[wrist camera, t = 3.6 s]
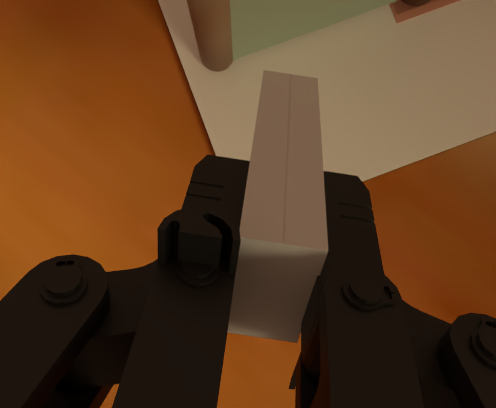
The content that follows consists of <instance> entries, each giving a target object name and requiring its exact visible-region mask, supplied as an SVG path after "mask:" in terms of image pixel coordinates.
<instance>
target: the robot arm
mask: <svg viewBox="0 0 496 408" xmlns="http://www.w3.org/2000/svg"><path fill="white" fill-rule="evenodd" d="M371 209H372V205H371V199H370V194H369V190H368V189H367V188H366V186H365V185H364V184H363V182H362V181H361V180H360V178H359V177H358V176H355V175H348V174H342V173H335V172H329V171H323V155H322V139H321V123H320V107H319V90H318V78H313V77H307V76H300V75H294V74H287V73H281V72H274V71H268V70H264V71H263V78H262V85H261V91H260V98H259V104H258V111H257V118H256V124H255V131H254V137H253V144H252V151H251V157H250V161H247V160H240V159H234V158H227V157H221V156H214V155H207V156H206V157H204V158H203V159H202V160H201V161H200V162H199V163H198V164H197V165H196V166H195V167H194V171H193V174H192V177H191V180H190V184H189V187H188V190H187V193H186V196H185V200H184V203H183V206H182V209H181V210H178V211H175V212H173V213H172V214H170V215H169V216H167V217H166V218H164V220H163V221H162V223H161V224H160V226H159V227H158V259H157V260H156V261H154V262H153V263H150V264H148V265H145V266H143V267H139V268H134V269H129V270H120V271H112V272H105V270H104V269H103V267H102V266H101V264H99V263H98V262H96V261H94V260H92V259H91V258H89V257H84V256H79V255H64V256H57V257H54V258H51V259H49V260H46V261H43V262H41V263H40V264H38V265H37V266H36V267H34V268H33V269H32V270H30V271H29V272H28V273H27V274H26V275H25V276H24V277H23V278H22V279H21V280H20V281H19V282H18V283H17V284H16V285H15V286H14V287H13V288H12V289H11V290H10V291H9V292H8V293H7V295H6V296H5V297H4V298H3V299H2V300H1V301H0V408H100V406H101V404H102V403H103V401H104V400H105V398H106V396H107V395H108V393H109V391H110V390H111V388H112V386H113V385H114V384H119V387H118V390H117V394H116V397H115V400H114V403H113V406H112V408H217V402H218V394H219V387H220V380H221V373H222V366H223V359H224V352H225V345H226V338H227V332H228V333H235V334H242V335H248V336H255V337H262V338H268V339H275V340H282V341H289V342H295V343H297V341H298V338H299V335H300V332H301V353H300V355H299V358H298V361H297V364H296V367H295V369H294V372H293V375H292V378H291V382H290V386H289V389H295V386H296V398H295V408H496V319H495V318H493V317H490V316H488V315H485V314H476V313H469V314H465V315H461V316H459V317H458V318H457V319H456V320H455V321H454V322H453V323H452V324H450V323H447V322H445V321H443V320H440V319H438V318H436V317H433V316H431V315H428V314H426V313H424V312H421V311H419V310H418V309H416V308H414V307H412V306H410V305H409V304H407V303H406V302H405V301H403V300H402V298H401V296H400V294H399V291H398V289H397V287H396V286H395V285H394V284H393V283H392V282H391V281H390V280H389V279H388V277H386V276H385V275H384V271H383V266H382V260H381V255H380V249H379V244H378V238H377V232H376V227H375V224H374V216H373V210H371Z"/></svg>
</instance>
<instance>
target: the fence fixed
mask: <svg viewBox="0 0 496 408" xmlns="http://www.w3.org/2000/svg"><path fill="white" fill-rule="evenodd" d="M401 1H402V2H404V3H405V4H407V5H410V6H422V5H424V4H426V3H428V2H429V1H430V0H401Z"/></svg>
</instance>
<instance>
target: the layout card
mask: <svg viewBox="0 0 496 408" xmlns="http://www.w3.org/2000/svg"><path fill="white" fill-rule="evenodd" d="M158 2H159V4H160V7H161V10H162V12H163V15H164V18H165V20H166V23H167V26H168V29H169V31H170V34H171V37H172V39H173V42H174V45H175V47H176V50H177V53H178V55H179V58H180V61H181V63H182V66H183V69H184V71H185V74H186V77H187V79H188V82H189V85H190V87H191V90H192V93H193V95H194V98H195V101H196V103H197V106H198V109H199V111H200V114H201V117H202V119H203V122H204V125H205V128H206V130H207V133H208V136H209V138H210V141H211V144H212V146H213V149H214V152H215V154H216V156H221V157H227V158H234V159H240V160H247V161H250V157H251V151H252V144H253V137H254V131H255V124H256V118H257V111H258V104H259V98H260V91H261V85H262V78H263V71H264V70H268V71H274V72H281V73H287V74H294V75H300V76H307V77H313V78H318V90H319V107H320V123H321V139H322V155H323V171H329V172H335V173H342V174H348V175H355V176H358V177H359V178H360V180H361V181H362V182H363V181H365V180H368V179H371V178H373V177H376V176H379V175H381V174H384V173H387V172H389V171H392V170H395V169H397V168H400V167H403V166H405V165H408V164H411V163H413V162H416V161H419V160H421V159H424V158H427V157H429V156H432V155H435V154H437V153H440V152H443V151H445V150H448V149H451V148H453V147H456V146H459V145H461V144H464V143H467V142H469V141H472V140H475V139H477V138H480V137H483V136H485V135H488V134H491V133H493V132H496V0H430V1H429V2H428V3H426V4H424V5H422V6H410V5H407V4H405V3H404V2H402V1H401V0H397V1H396V2H393V3H390V4H388V5H385V6H382V7H379V8H377V9H374V10H371V11H368V12H365V13H363V14H360V15H357V16H354V17H352V18H349V19H346V20H343V21H341V22H338V23H335V24H332V25H329V26H327V27H324V28H321V29H318V30H316V31H313V32H310V33H307V34H304V35H302V36H299V37H296V38H293V39H291V40H288V41H285V42H282V43H279V44H277V45H274V46H271V47H268V48H266V49H263V50H260V51H257V52H255V53H252V54H249V55H246V56H243V57H241V58H238V59H235V60H233V61H232V63H231V65H230V66H229V67H228V68H227V69H225V70H223V71H219V72H216V71H211V70H209V69H207V68H206V67H205V66H204V65H203V64H202V62H201V59H200V55H199V51H198V46H197V42H196V38H195V34H194V29H193V25H192V21H191V17H190V13H189V8H188V4H187V0H158Z"/></svg>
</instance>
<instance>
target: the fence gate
mask: <svg viewBox="0 0 496 408" xmlns="http://www.w3.org/2000/svg"><path fill="white" fill-rule="evenodd" d="M396 1H397V0H187V4H188V8H189V13H190V17H191V21H192V25H193V29H194V34H195V38H196V42H197V46H198V51H199V55H200V59H201V62H202V64H203V65H204V66H205V67H206V68H207V69H209V70H211V71H216V72H219V71H223V70H225V69H227V68H228V67H229V66H230V65H231V63H232V61H233V60H235V59H238V58H241V57H243V56H246V55H249V54H252V53H255V52H257V51H260V50H263V49H266V48H268V47H271V46H274V45H277V44H279V43H282V42H285V41H288V40H291V39H293V38H296V37H299V36H302V35H304V34H307V33H310V32H313V31H316V30H318V29H321V28H324V27H327V26H329V25H332V24H335V23H338V22H341V21H343V20H346V19H349V18H352V17H354V16H357V15H360V14H363V13H365V12H368V11H371V10H374V9H377V8H379V7H382V6H385V5H388V4H390V3H393V2H396Z"/></svg>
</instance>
